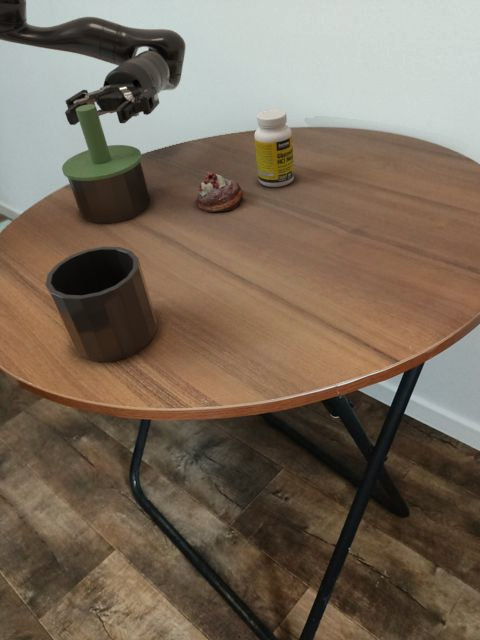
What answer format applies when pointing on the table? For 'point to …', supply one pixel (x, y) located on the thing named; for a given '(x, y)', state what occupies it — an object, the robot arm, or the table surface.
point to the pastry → (218, 193)
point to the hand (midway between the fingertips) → (94, 117)
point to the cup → (103, 303)
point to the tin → (112, 197)
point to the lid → (98, 152)
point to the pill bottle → (274, 149)
